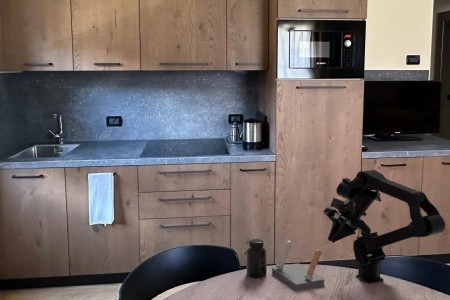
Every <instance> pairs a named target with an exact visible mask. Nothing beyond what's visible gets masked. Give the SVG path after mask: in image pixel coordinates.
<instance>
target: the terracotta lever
mask: <svg viewBox="0 0 450 300" xmlns="http://www.w3.org/2000/svg"><path fill="white" fill-rule="evenodd" d="M322 255H323V254H322V250H321V249H319V248H317V249H315V250H314V254H313V257H312V259H311V261H310V264H309V266H308V268H307V269H308V271H307V273H306V274H305V275H304V277H305V278H306V279H308V280H309V281H311V280H312V279H313V277H312V276H313V273H315V270H316V269H317V268H316V267H317V265H318V263H319V260H320V258H321V256H322Z"/></svg>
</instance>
